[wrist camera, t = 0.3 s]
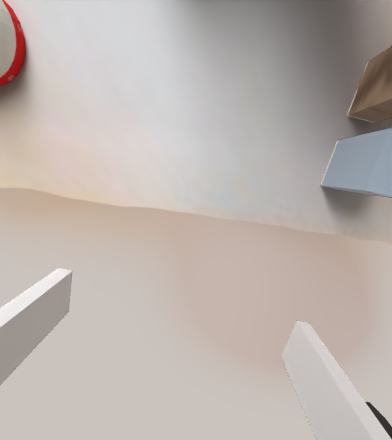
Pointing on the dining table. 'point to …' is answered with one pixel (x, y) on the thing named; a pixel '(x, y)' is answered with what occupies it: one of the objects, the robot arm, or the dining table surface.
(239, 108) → the dining table surface
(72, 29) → the dining table surface
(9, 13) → the beanie hat
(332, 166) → the slate block
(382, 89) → the walnut block
